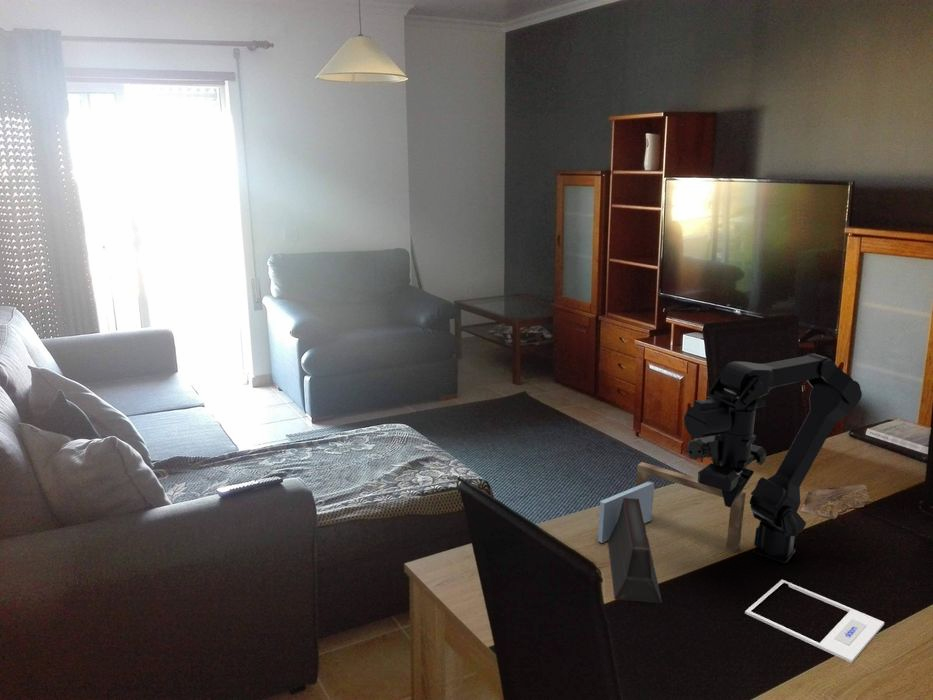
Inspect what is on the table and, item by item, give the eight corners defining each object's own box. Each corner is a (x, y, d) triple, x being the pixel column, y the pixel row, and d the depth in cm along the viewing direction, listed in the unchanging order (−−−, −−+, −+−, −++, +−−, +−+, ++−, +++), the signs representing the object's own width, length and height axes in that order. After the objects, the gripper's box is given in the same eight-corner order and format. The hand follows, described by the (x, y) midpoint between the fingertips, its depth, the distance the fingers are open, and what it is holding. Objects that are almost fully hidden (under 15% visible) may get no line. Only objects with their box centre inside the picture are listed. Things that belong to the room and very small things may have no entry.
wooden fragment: (824, 524, 165) (824, 520, 164) (780, 504, 174) (781, 500, 173) (891, 497, 178) (891, 493, 177) (847, 480, 187) (848, 476, 186)
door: (641, 515, 167) (644, 478, 164) (651, 520, 165) (654, 482, 162) (592, 537, 157) (594, 498, 155) (602, 543, 155) (604, 503, 153)
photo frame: (852, 659, 120) (745, 610, 132) (851, 665, 120) (744, 615, 133) (884, 621, 129) (782, 578, 142) (883, 626, 130) (781, 583, 142)
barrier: (662, 604, 135) (667, 555, 133) (613, 600, 136) (617, 551, 134) (648, 538, 158) (651, 495, 155) (606, 536, 159) (609, 492, 156)
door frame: (739, 548, 154) (745, 492, 151) (735, 552, 152) (742, 496, 149) (638, 513, 168) (641, 461, 165) (633, 516, 167) (637, 464, 164)
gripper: (715, 407, 152) (708, 478, 156) (674, 433, 138) (667, 510, 142) (771, 420, 145) (762, 494, 149) (733, 448, 131) (725, 529, 135)
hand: (728, 506), depth 144 cm, fingers closed
